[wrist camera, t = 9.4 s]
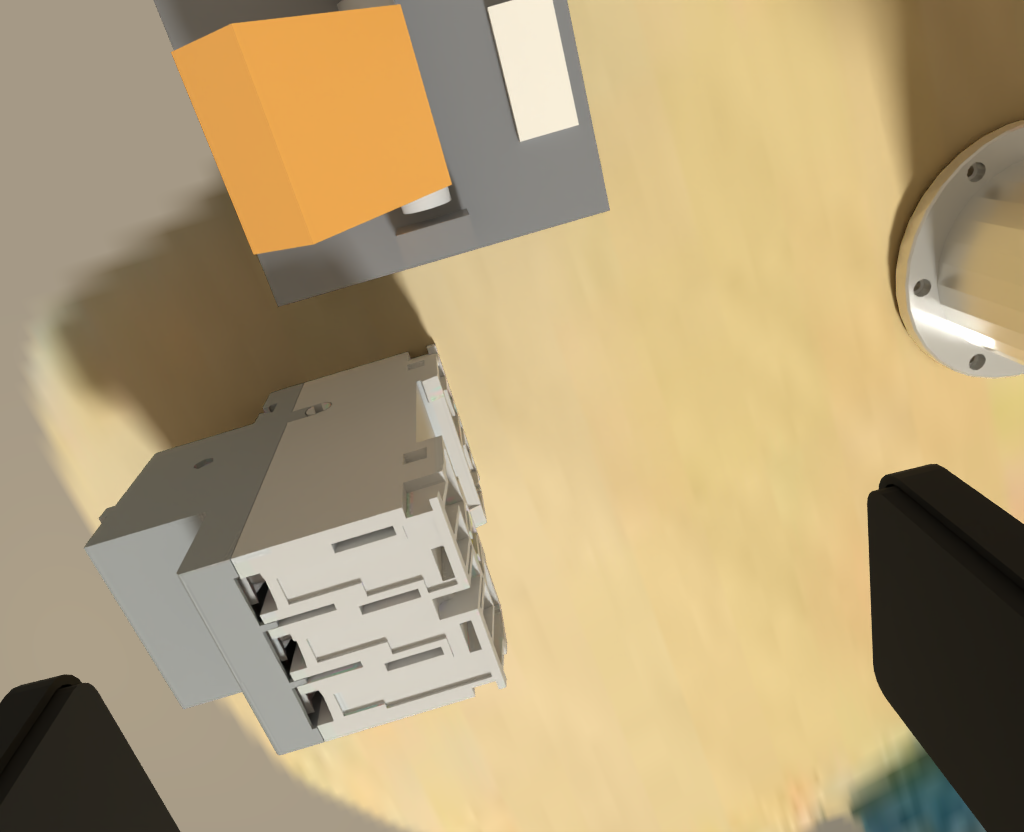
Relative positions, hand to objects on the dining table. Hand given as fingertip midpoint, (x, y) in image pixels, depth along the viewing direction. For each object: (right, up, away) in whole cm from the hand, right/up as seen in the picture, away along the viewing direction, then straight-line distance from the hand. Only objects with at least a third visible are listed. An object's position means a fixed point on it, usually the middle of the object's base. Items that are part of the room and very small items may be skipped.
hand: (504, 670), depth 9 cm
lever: (-3, +12, +13) cm, 18 cm away
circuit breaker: (-9, +1, +28) cm, 29 cm away
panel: (-4, +16, +22) cm, 28 cm away
